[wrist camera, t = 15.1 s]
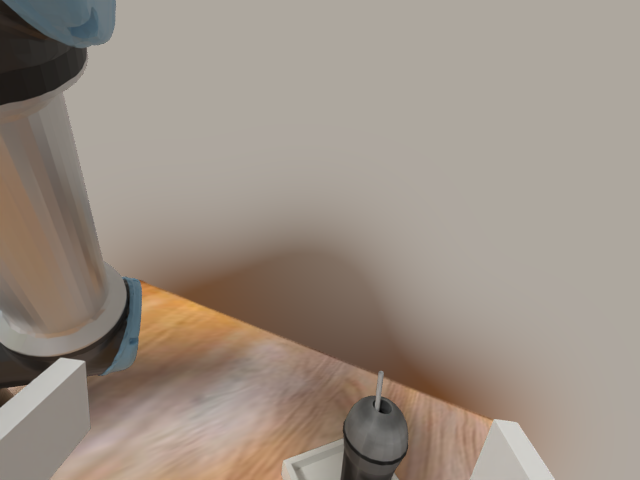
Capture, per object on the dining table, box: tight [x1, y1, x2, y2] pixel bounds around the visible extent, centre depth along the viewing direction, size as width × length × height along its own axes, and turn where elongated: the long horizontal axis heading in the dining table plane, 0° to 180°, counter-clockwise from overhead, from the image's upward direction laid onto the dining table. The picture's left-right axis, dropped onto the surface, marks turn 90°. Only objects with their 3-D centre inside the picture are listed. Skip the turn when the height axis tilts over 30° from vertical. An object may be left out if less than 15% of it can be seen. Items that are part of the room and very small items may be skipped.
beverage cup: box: [341, 371, 408, 480], centre depth 37 cm, size 7×7×20 cm
